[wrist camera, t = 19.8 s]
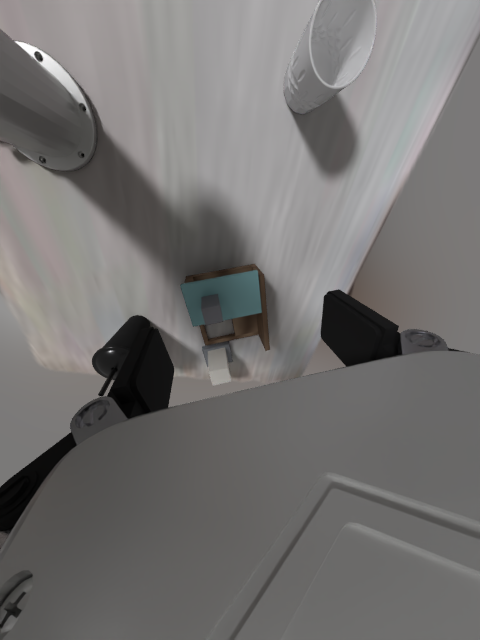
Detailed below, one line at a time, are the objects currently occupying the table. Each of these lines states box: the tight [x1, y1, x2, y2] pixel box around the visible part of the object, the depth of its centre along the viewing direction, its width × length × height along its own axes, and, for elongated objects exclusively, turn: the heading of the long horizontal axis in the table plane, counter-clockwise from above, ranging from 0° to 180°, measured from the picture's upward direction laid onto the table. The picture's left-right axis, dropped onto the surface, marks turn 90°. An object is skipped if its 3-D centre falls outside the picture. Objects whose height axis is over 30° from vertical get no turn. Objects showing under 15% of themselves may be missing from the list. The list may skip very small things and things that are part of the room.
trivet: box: [202, 341, 233, 367], centre depth 53 cm, size 7×6×2 cm
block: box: [208, 347, 231, 385], centre depth 49 cm, size 4×4×8 cm
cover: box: [180, 270, 262, 327], centre depth 35 cm, size 14×8×6 cm, turn 98°
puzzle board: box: [185, 264, 270, 351], centre depth 44 cm, size 15×18×8 cm
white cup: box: [284, 0, 377, 114], centre depth 26 cm, size 8×8×10 cm
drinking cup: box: [92, 315, 150, 396], centre depth 37 cm, size 8×8×20 cm
